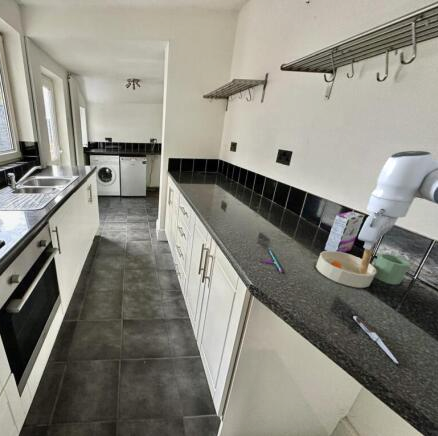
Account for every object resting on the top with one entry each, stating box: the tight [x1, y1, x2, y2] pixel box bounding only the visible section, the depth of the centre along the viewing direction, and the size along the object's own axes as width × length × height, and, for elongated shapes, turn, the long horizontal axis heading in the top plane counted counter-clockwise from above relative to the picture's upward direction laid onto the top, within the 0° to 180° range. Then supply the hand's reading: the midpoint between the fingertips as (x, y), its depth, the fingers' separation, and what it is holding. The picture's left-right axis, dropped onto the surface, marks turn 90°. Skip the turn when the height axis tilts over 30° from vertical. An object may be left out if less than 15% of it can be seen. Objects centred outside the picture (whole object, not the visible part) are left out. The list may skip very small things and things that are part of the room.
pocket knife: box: [352, 315, 400, 365], centre depth 56 cm, size 14×1×2 cm, turn 173°
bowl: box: [315, 250, 377, 288], centre depth 80 cm, size 15×15×6 cm
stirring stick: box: [359, 242, 375, 274], centre depth 75 cm, size 2×2×18 cm
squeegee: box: [262, 250, 283, 274], centre depth 88 cm, size 15×1×5 cm
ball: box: [330, 261, 341, 269], centre depth 83 cm, size 3×3×3 cm
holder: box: [372, 252, 412, 285], centre depth 79 cm, size 8×8×8 cm
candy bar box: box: [324, 211, 366, 253], centre depth 95 cm, size 11×5×16 cm, turn 114°
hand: (368, 247), depth 75 cm, fingers closed on stirring stick, 2 cm apart
